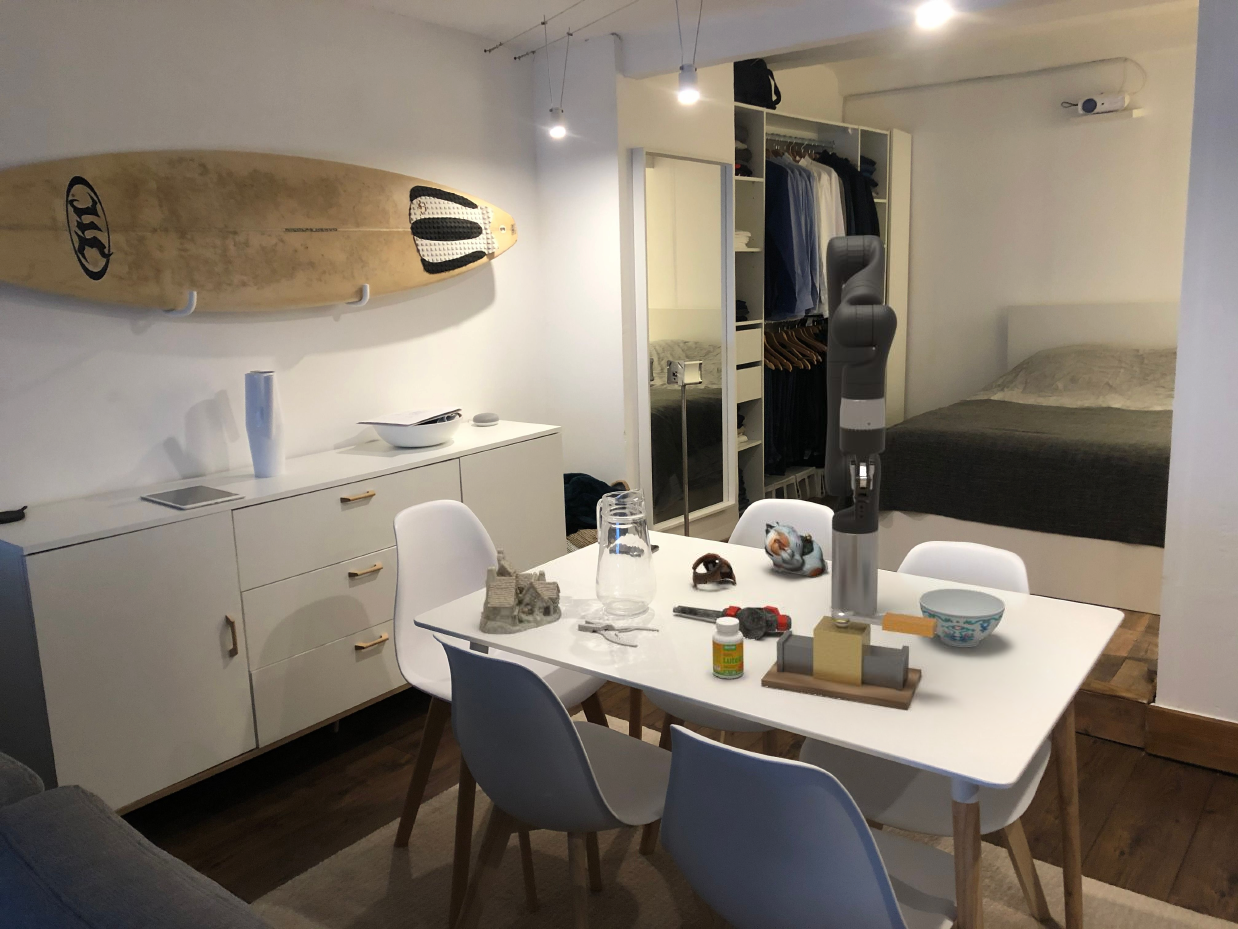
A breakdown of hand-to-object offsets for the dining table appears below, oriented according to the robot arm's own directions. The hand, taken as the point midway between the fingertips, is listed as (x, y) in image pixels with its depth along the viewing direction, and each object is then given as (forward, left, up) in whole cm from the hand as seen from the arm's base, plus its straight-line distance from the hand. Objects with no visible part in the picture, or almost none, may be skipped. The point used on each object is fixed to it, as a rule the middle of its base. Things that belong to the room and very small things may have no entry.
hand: (861, 521), depth 164 cm
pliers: (+4, -47, -26) cm, 54 cm away
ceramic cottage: (+5, -69, -26) cm, 74 cm away
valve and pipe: (+10, -1, -26) cm, 28 cm away
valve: (-11, -27, -26) cm, 39 cm away
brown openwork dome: (-32, -40, -26) cm, 57 cm away
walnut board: (+10, -1, -26) cm, 28 cm away
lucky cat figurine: (-47, -25, -26) cm, 59 cm away
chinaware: (-16, +15, -26) cm, 34 cm away
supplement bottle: (+14, -20, -26) cm, 35 cm away
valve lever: (+10, +6, -15) cm, 19 cm away
